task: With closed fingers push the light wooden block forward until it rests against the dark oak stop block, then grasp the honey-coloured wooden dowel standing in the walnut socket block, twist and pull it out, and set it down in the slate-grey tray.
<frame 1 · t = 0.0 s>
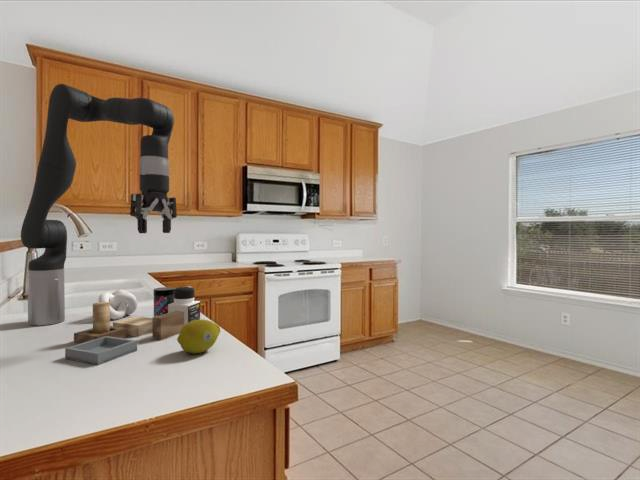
hand: (155, 233, 102), 29 cm above the counter, tool pointing down, fingers open, 8 cm apart
lemon: (199, 352, 90), on the counter
dowel: (101, 321, 100), in the socket block
tray: (102, 354, 88), on the counter
socket block: (101, 339, 100), on the counter
medicine bottle: (184, 325, 116), on the counter
light wooden block: (137, 332, 109), on the counter
stop block: (168, 335, 104), on the counter
supplement container: (164, 320, 123), on the counter
white knot sculpture: (119, 317, 126), on the counter
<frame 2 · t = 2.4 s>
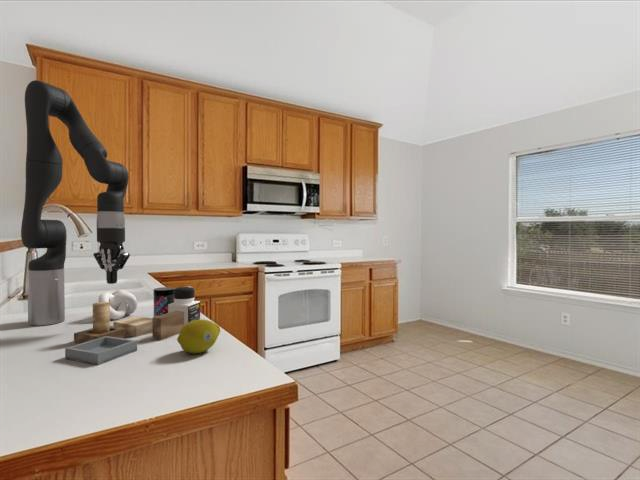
hand: (112, 283, 112), 14 cm above the counter, tool pointing down, fingers closed
nothing on the counter moved.
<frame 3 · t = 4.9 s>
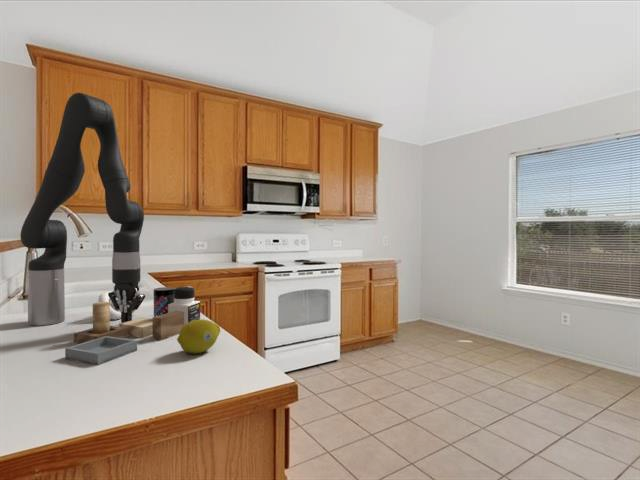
hand: (126, 324, 110), 2 cm above the counter, tool pointing down, fingers closed
light wooden block: (143, 334, 108), on the counter, touching gripper
everything else where it was.
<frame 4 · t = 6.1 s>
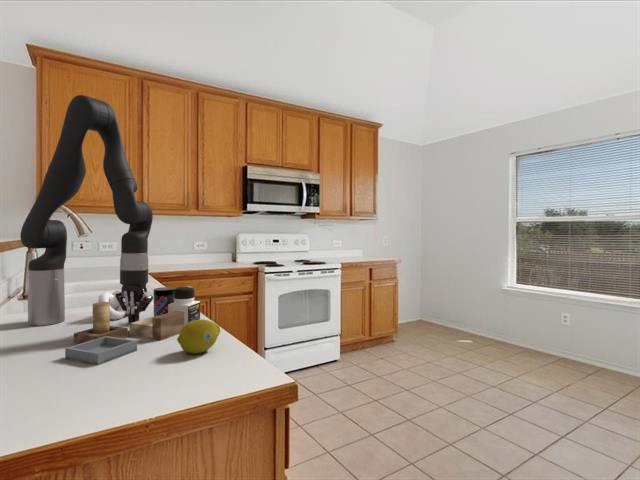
hand: (133, 325, 109), 2 cm above the counter, tool pointing down, fingers closed
light wooden block: (153, 333, 107), on the counter, touching gripper
everything else where it was.
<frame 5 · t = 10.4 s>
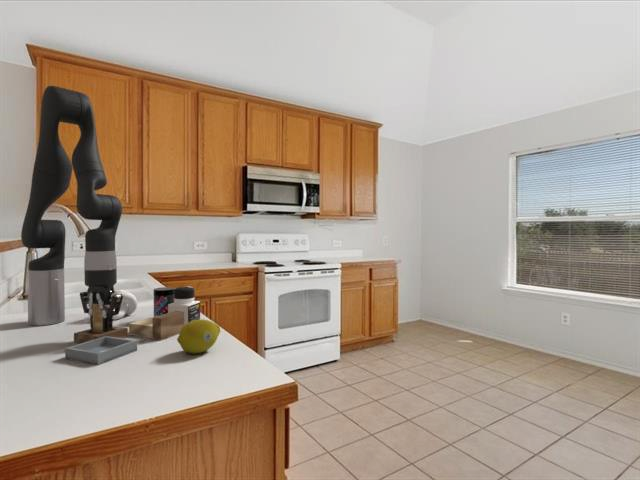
hand: (101, 329, 100), 3 cm above the counter, tool pointing down, fingers closed on dowel, 4 cm apart
dowel: (101, 321, 100), in the socket block, touching gripper
light wooden block: (153, 333, 107), on the counter
everything else where it was.
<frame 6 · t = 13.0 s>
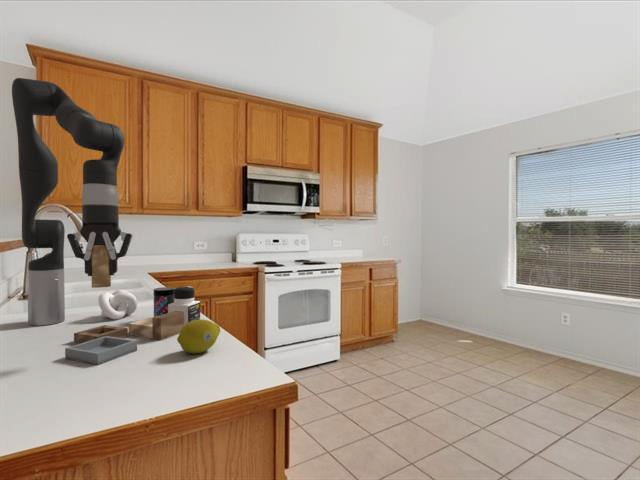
hand: (101, 275, 88), 19 cm above the counter, tool pointing down, fingers closed on dowel, 4 cm apart
dowel: (101, 266, 88), point 21 cm above the counter, touching gripper
everything else where it was.
when the fingers open (5 cm above the counter, at t = 16.0 s): dowel drops 2 cm, resting on tray.
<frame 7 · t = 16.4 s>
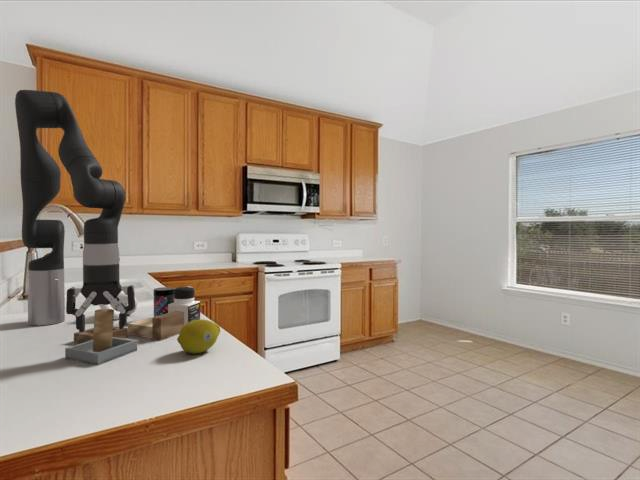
hand: (102, 329, 88), 6 cm above the counter, tool pointing down, fingers open, 8 cm apart
dowel: (103, 331, 88), in the tray, point 6 cm above the counter
everything else where it was.
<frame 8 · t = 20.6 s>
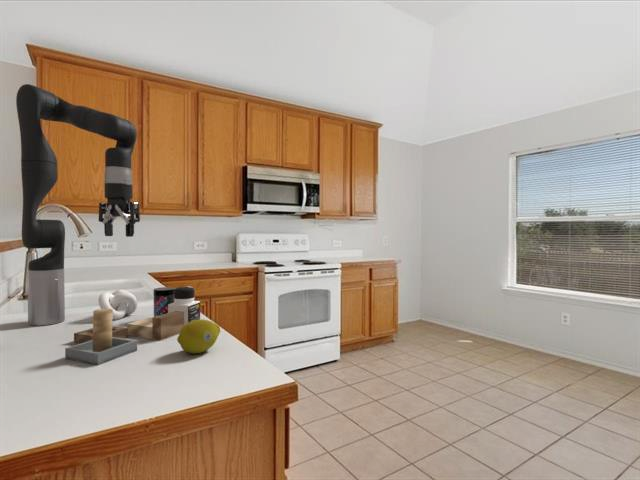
hand: (119, 236, 111), 28 cm above the counter, tool pointing down, fingers open, 8 cm apart
nothing on the counter moved.
at the end: dowel inside the target area on the tray (0.2 cm from its centre), point 5.7 cm above the tray's base; the gripper is holding nothing; light wooden block 0.5 cm from the target spot, on the counter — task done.
